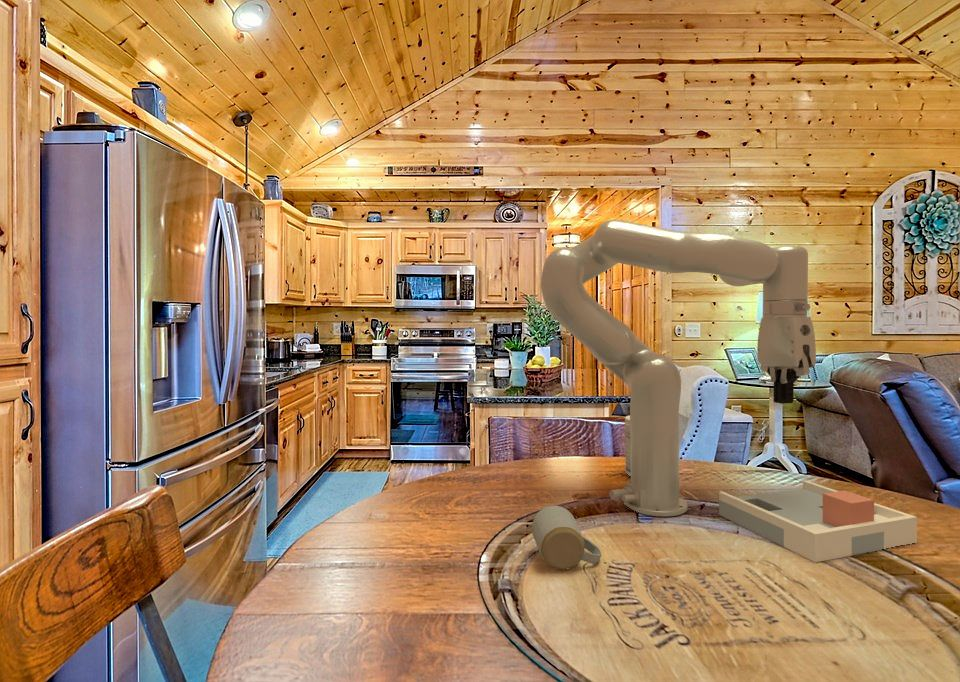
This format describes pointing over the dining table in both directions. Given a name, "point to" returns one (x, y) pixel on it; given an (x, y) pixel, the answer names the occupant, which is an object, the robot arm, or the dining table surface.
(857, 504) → the block
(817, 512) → the board
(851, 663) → the dining table surface
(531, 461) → the dining table surface
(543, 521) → the ceramic mug
